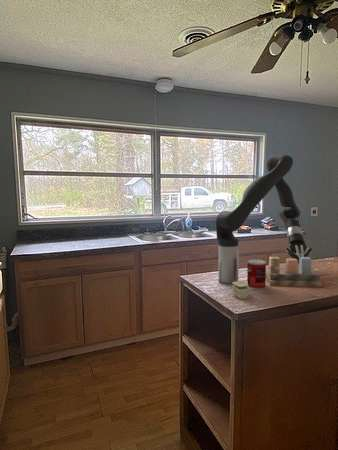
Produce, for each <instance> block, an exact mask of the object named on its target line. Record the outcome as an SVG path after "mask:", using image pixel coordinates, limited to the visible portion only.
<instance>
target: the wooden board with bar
mask: <svg viewBox="0 0 338 450" xmlns="http://www.w3.org/2000/svg"><path fill="white" fill-rule="evenodd" d="M266 281H267V283H268V284H269V286H271V287H272V286H274V287H276V286H277V287H314V286H315V287H317V288H319V287H320V288H321V287H323V286H324V285H323V284H324V283H323V281H322V280H321V275H320V274H319V273H317V274H316V273H315V274H313V273H312V272H311V274H299V271H297V274H286V271H280V273H279V274H270V273H269V271H266Z"/></svg>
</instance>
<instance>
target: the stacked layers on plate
mask: <svg viewBox="0 0 338 450" xmlns="http://www.w3.org/2000/svg"><path fill="white" fill-rule="evenodd" d="M231 284H233V285H231V286H232V290H231V292H232V297H236V298H238V299H240V300H244V299H248V295H249V292H248V291H249V287H250V286H249V285H248V283H247V281H245V280H238V281H236V282H232V283H231ZM248 286H249V287H248Z"/></svg>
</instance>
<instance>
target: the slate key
mask: <svg viewBox="0 0 338 450" xmlns="http://www.w3.org/2000/svg"><path fill="white" fill-rule="evenodd" d="M298 265H299V266H298V272H299V274H311V273H312V258H311V257H309V256H308V257H299V264H298Z"/></svg>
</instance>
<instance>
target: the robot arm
mask: <svg viewBox="0 0 338 450" xmlns="http://www.w3.org/2000/svg"><path fill="white" fill-rule="evenodd" d="M293 165H294V160H293V157H292V156H291V155H288V154H272V155H270V156H269V157H268V158H267V161H266V167H267V168H266V169H267V170H268V173H266V174H264V175H261V176H260V177H258V178H256V179H254V180H253V181H252V182H251V183H249V185H248V186H247V187H246V188H245V190H244V191H243V194H242V199H241V202H240V203H239V204H238V205H237V206H236V207H235V209H233V210H232V211H229V210H227V211H226V210H223V211H220V212H219V213H218V214H217V216H216V219H215V231H216V232H215V233H216V239H217V243H218V260H217V261H218V265H217V267H218V283H224V284H233V283H232V282H236V281H239V239H238V238H237V237H236V236H235V235H234V232H236V231H238V230H239V229H241V227H242V226H243V225H244V224H245V221H246V220H247V219H248V217H249V216H250V214H251V213H252V212H253V211H254V209H256V207H257V206H258V205H259V203H261V201H263V199H264V198H265V197H266V196H267V195H268V193H269V192H270V191H271V190H272V189H273V187H275V189H276V192H277V195H278V199H279V203H280V206H281V207H283V208H281V209H280V210H279V213H278V215H279V218H280V219H281V221H282V222H283V223H284V226H285V230H286V237H287V242H288V247H286V248H285V253H286V254H288V255H289V256H290V257H291V259H296V260H298V265H299V257H309V255H310V254H311V252H312V251H313V248H312V247H308V246H307V245H306V242H305V237H304V235H303V231H302V229H301V224H300V221H299V220H298V218H300V216H301V212H300V209H299V207H298V206H297V204H296V202H295V198H294V196H293V191H292V189H291V187H290V186H289V184H288V183H287V182H286V180H285V179H284V177H285V176H286V175H287V174H288V173H289V172H290V171H291V170H292V167H293ZM305 252H306V253H305Z"/></svg>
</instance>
